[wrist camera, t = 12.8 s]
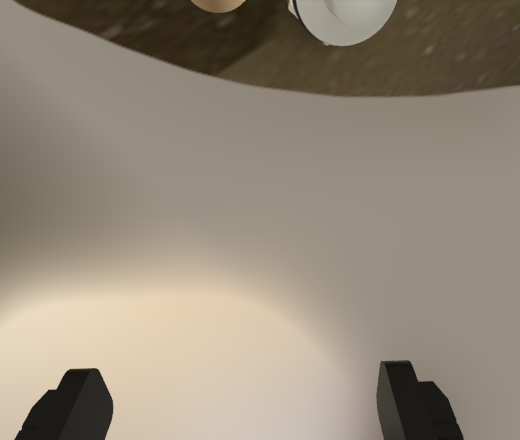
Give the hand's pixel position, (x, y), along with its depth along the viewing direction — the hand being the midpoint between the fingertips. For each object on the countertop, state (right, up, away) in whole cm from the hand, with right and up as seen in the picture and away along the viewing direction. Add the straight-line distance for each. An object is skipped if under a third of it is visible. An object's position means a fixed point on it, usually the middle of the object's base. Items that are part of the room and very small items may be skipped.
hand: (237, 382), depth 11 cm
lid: (+7, +22, +19) cm, 30 cm away
